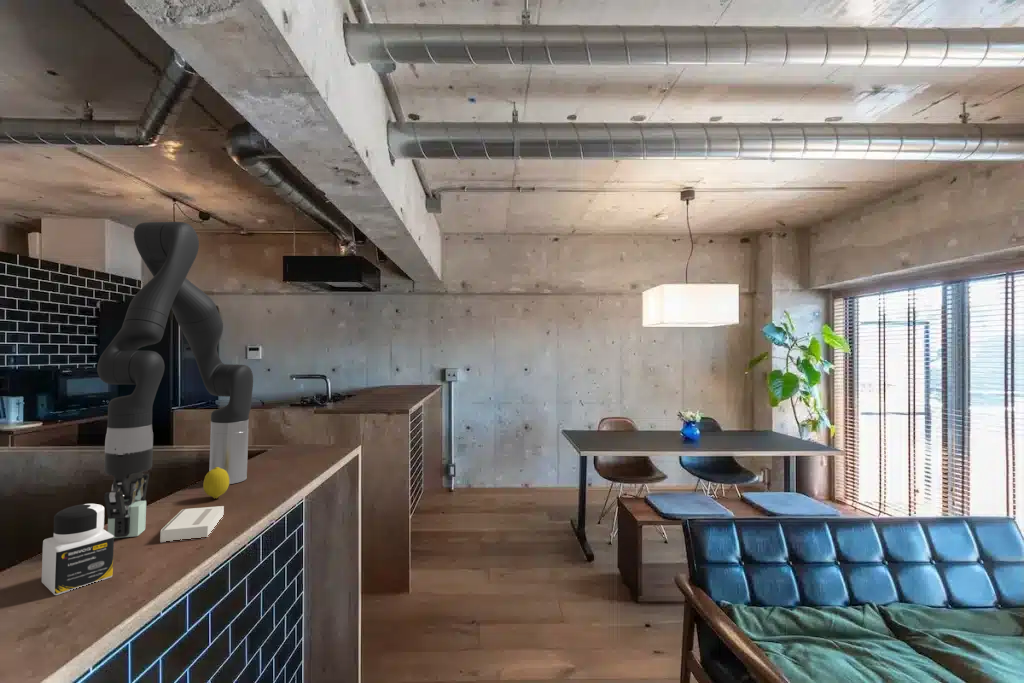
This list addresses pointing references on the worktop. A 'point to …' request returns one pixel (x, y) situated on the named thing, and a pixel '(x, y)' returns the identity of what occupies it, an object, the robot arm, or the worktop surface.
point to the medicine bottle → (77, 549)
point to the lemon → (216, 482)
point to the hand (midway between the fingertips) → (126, 531)
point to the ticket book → (192, 523)
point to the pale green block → (133, 520)
